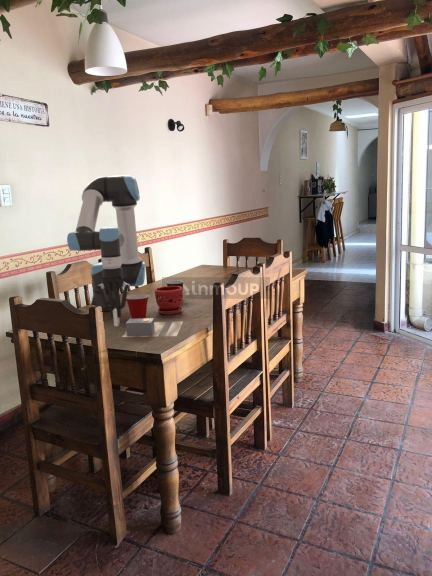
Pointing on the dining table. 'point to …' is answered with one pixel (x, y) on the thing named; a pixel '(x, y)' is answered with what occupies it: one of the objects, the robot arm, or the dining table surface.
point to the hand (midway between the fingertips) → (116, 325)
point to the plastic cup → (137, 305)
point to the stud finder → (140, 327)
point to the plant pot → (169, 299)
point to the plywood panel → (163, 329)
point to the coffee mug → (175, 283)
